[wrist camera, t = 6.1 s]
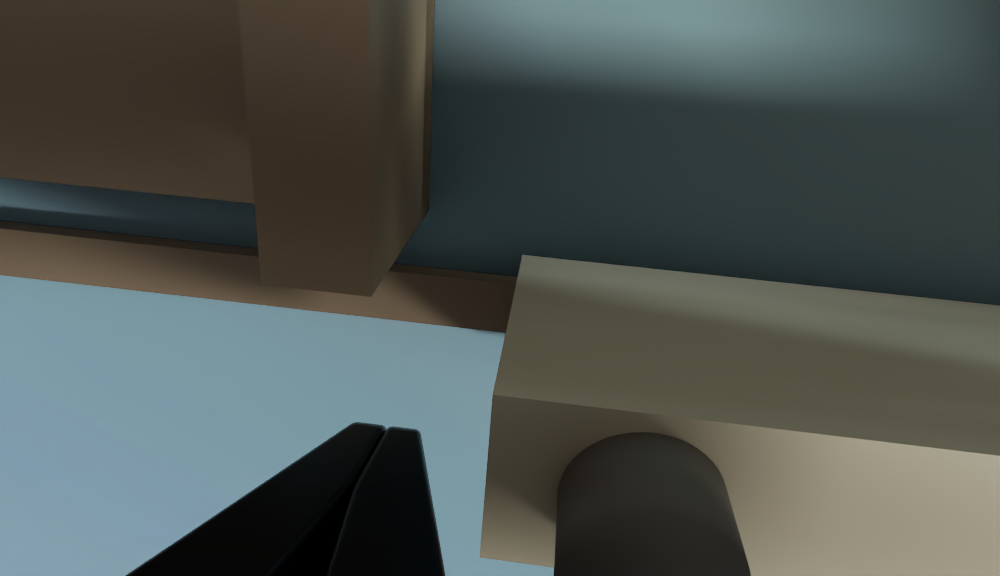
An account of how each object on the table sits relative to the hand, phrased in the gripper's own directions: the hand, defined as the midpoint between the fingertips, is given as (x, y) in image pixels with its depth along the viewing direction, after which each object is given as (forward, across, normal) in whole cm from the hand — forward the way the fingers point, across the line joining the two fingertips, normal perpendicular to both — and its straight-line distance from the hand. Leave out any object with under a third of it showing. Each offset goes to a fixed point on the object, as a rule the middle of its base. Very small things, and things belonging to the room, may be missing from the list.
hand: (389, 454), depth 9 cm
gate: (+2, -6, -1) cm, 6 cm away
